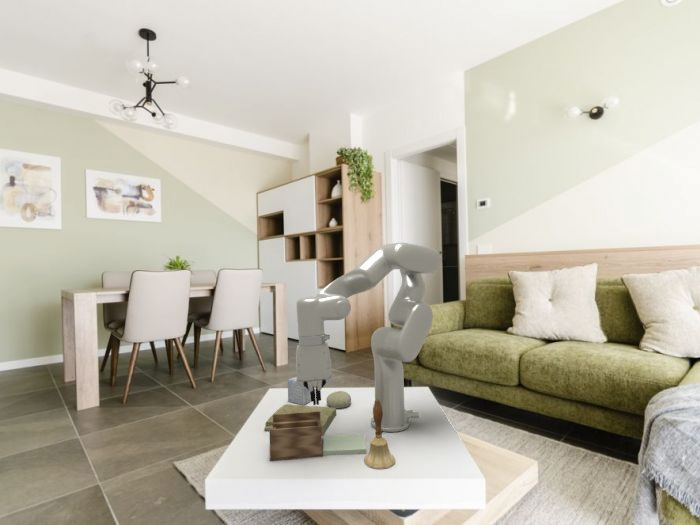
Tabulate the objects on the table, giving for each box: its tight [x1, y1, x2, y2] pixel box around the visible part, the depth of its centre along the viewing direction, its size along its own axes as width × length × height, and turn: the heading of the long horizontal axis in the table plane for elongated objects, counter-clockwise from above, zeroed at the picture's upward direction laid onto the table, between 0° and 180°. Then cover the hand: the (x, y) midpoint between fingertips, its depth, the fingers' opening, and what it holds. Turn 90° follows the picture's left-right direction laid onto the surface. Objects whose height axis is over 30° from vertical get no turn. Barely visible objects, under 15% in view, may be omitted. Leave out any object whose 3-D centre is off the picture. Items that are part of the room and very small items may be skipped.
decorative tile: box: [263, 403, 337, 437], centre depth 122 cm, size 19×20×4 cm
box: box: [269, 411, 323, 462], centre depth 104 cm, size 14×11×8 cm
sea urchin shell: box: [326, 390, 352, 409], centre depth 138 cm, size 9×8×8 cm
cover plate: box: [322, 433, 368, 457], centre depth 105 cm, size 12×9×2 cm
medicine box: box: [287, 376, 311, 406], centre depth 142 cm, size 8×4×9 cm, turn 58°
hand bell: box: [363, 399, 396, 470], centre depth 97 cm, size 8×8×16 cm
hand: (316, 403), depth 106 cm, fingers closed
